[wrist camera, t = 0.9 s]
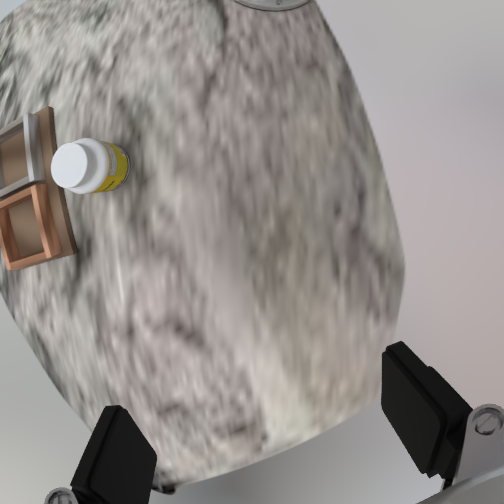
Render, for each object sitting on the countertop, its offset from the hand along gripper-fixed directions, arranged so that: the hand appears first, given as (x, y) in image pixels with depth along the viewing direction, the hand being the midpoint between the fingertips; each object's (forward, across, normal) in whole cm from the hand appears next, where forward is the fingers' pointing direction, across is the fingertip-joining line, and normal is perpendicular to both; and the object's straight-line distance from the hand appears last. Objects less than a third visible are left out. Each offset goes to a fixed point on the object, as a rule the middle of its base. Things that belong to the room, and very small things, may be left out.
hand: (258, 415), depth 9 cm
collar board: (+25, +25, -15) cm, 38 cm away
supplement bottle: (+25, +12, -13) cm, 31 cm away
